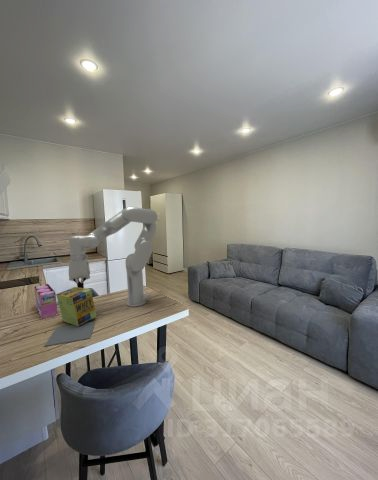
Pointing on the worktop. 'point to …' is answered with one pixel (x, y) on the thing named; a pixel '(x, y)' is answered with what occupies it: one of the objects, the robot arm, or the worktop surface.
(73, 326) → the rubber mat
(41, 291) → the gum box
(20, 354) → the worktop surface
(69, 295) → the protein box
